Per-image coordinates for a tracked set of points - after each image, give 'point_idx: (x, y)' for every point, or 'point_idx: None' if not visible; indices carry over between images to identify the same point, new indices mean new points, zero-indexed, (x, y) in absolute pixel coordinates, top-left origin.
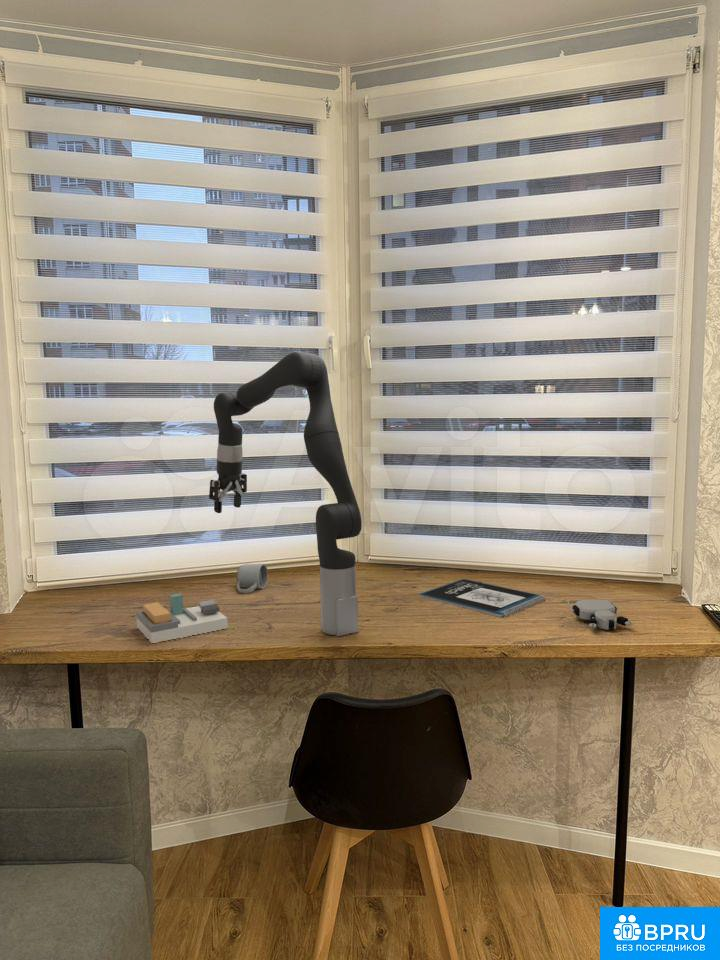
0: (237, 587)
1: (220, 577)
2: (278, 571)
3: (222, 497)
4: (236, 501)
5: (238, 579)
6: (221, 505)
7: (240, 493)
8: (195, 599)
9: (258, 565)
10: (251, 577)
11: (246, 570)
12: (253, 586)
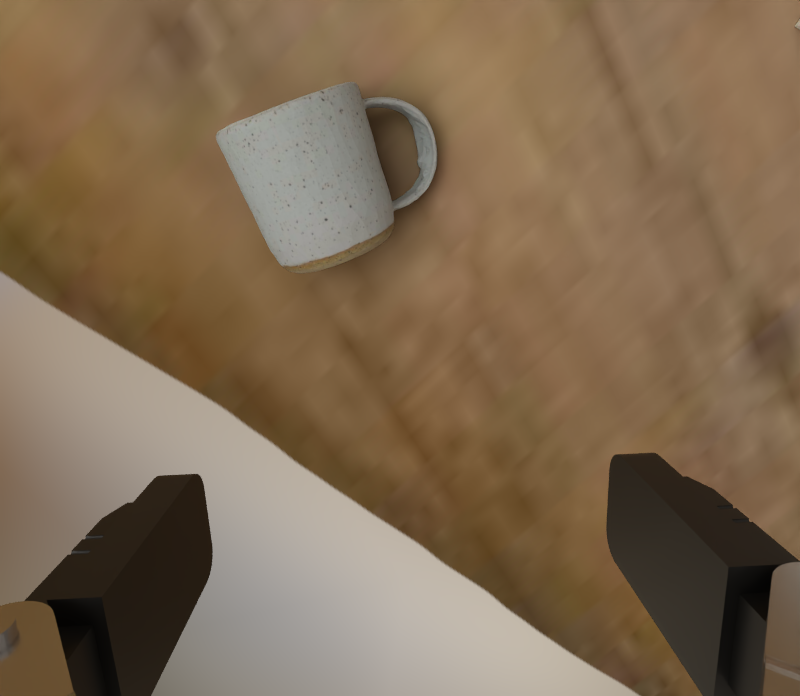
0: (426, 187)
1: (293, 425)
2: (38, 263)
3: (797, 634)
4: (170, 580)
5: (393, 215)
6: (687, 513)
7: (26, 650)
8: (611, 279)
9: (297, 122)
10: (368, 130)
11: (360, 180)
12: (389, 97)
